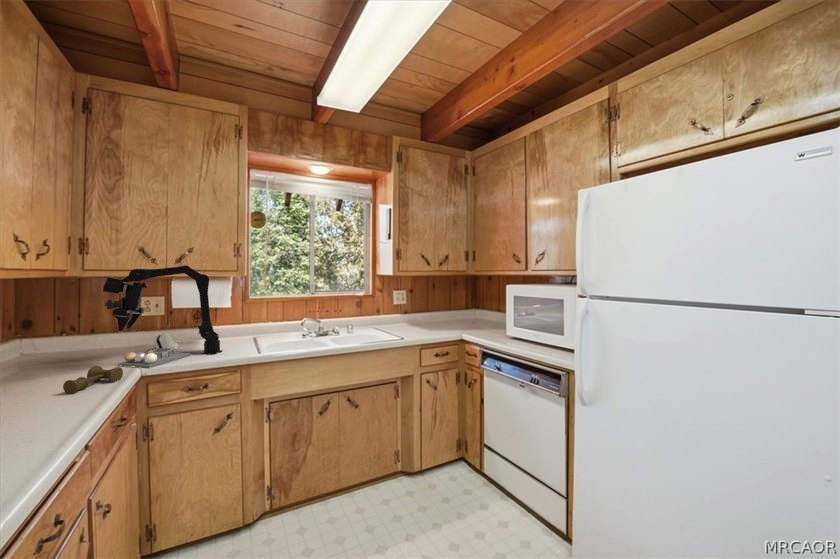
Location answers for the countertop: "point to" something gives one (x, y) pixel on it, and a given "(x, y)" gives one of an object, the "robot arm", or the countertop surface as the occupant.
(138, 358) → the steel ball
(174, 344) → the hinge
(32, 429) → the countertop surface
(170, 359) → the mat
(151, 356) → the plastic ball
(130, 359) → the tan wooden ball
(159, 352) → the crimped metal cup
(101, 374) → the kendama
